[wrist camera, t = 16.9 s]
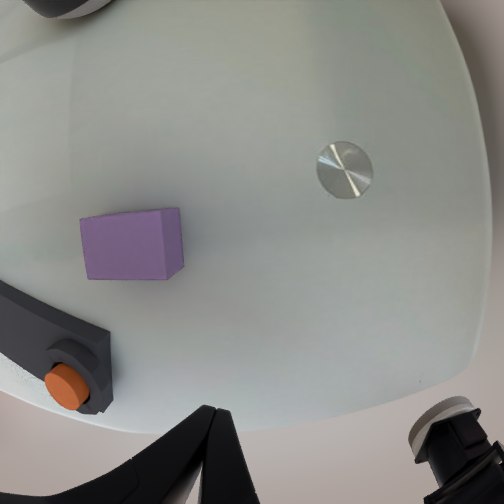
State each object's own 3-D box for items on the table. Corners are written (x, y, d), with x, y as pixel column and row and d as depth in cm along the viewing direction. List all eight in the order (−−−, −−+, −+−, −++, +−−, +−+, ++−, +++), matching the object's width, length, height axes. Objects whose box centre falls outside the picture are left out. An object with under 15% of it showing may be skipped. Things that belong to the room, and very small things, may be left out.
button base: (123, 336, 21) (98, 360, 17) (124, 404, 23) (106, 430, 19) (-6, 276, 22) (-32, 286, 18) (2, 338, 24) (-19, 351, 20)
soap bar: (179, 207, 19) (160, 210, 16) (184, 266, 20) (167, 280, 16) (104, 214, 19) (79, 219, 16) (111, 267, 20) (87, 279, 17)
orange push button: (87, 373, 18) (75, 385, 16) (91, 405, 19) (81, 417, 17) (53, 356, 18) (41, 366, 17) (59, 388, 19) (48, 398, 17)
